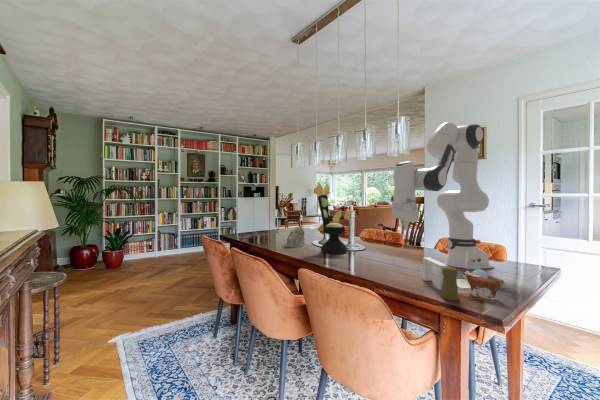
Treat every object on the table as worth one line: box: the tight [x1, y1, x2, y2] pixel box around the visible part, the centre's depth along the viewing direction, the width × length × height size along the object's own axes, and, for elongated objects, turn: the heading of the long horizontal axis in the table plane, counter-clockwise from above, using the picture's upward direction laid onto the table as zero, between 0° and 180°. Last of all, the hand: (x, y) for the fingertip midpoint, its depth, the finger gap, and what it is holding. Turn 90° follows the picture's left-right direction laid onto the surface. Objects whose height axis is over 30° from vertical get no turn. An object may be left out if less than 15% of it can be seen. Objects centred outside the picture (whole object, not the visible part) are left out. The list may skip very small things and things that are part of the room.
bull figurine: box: [462, 270, 500, 301], centre depth 114 cm, size 4×13×8 cm, turn 32°
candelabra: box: [314, 181, 353, 255], centre depth 194 cm, size 19×22×45 cm
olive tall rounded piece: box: [440, 266, 460, 301], centre depth 112 cm, size 6×6×11 cm
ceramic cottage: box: [285, 224, 306, 248], centre depth 218 cm, size 16×16×15 cm
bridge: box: [422, 256, 449, 291], centre depth 127 cm, size 3×15×10 cm, turn 3°
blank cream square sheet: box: [456, 278, 471, 290], centre depth 128 cm, size 12×12×1 cm
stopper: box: [487, 273, 505, 290], centre depth 129 cm, size 2×14×3 cm, turn 4°
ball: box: [471, 269, 489, 278], centre depth 128 cm, size 6×6×6 cm
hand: (404, 229), depth 136 cm, fingers closed
